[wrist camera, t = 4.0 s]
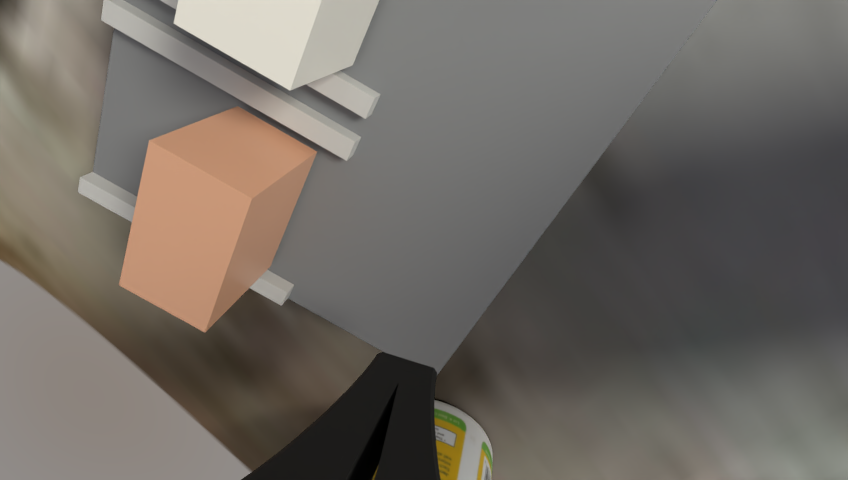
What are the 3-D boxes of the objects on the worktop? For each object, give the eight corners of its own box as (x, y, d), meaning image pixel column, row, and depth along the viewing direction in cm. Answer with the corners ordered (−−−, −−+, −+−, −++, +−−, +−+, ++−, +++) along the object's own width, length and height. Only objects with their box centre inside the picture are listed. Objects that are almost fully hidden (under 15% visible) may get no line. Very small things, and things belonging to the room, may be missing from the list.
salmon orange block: (316, 151, 14) (251, 198, 11) (270, 266, 16) (204, 332, 13) (237, 106, 14) (149, 140, 11) (201, 227, 16) (119, 285, 13)
